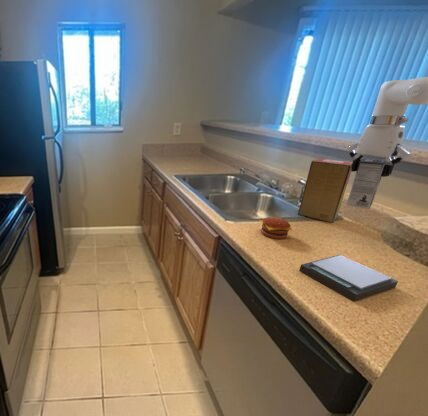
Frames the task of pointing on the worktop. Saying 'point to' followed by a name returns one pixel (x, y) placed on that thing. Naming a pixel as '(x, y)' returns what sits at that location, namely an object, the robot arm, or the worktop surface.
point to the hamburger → (275, 227)
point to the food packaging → (325, 189)
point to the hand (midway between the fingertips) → (369, 173)
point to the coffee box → (366, 183)
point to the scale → (348, 277)
